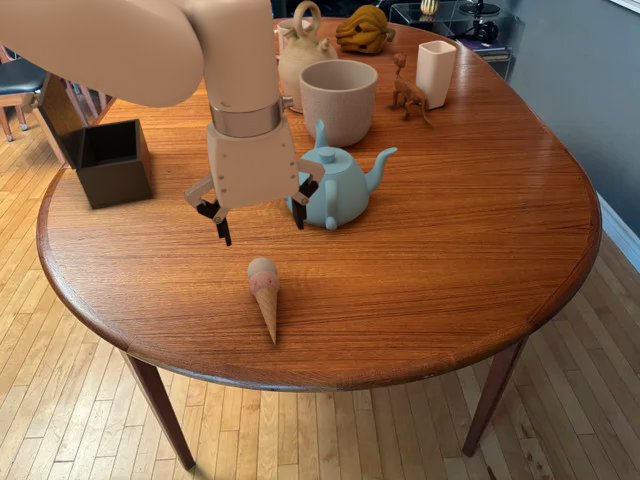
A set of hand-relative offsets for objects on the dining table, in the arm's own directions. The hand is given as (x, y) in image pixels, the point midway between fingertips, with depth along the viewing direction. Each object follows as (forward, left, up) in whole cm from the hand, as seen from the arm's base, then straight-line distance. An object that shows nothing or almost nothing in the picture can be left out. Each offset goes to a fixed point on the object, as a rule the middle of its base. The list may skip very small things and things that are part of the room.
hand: (263, 231), depth 62 cm
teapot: (+16, +22, -15) cm, 31 cm away
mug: (+28, +94, -15) cm, 99 cm away
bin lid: (-28, +44, +1) cm, 52 cm away
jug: (+25, +64, -15) cm, 70 cm away
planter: (+26, +45, -15) cm, 54 cm away
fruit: (+53, +94, -15) cm, 109 cm away
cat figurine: (+47, +49, -15) cm, 70 cm away
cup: (+54, +53, -15) cm, 77 cm away
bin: (-22, +43, -15) cm, 51 cm away
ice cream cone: (0, 0, -15) cm, 15 cm away
